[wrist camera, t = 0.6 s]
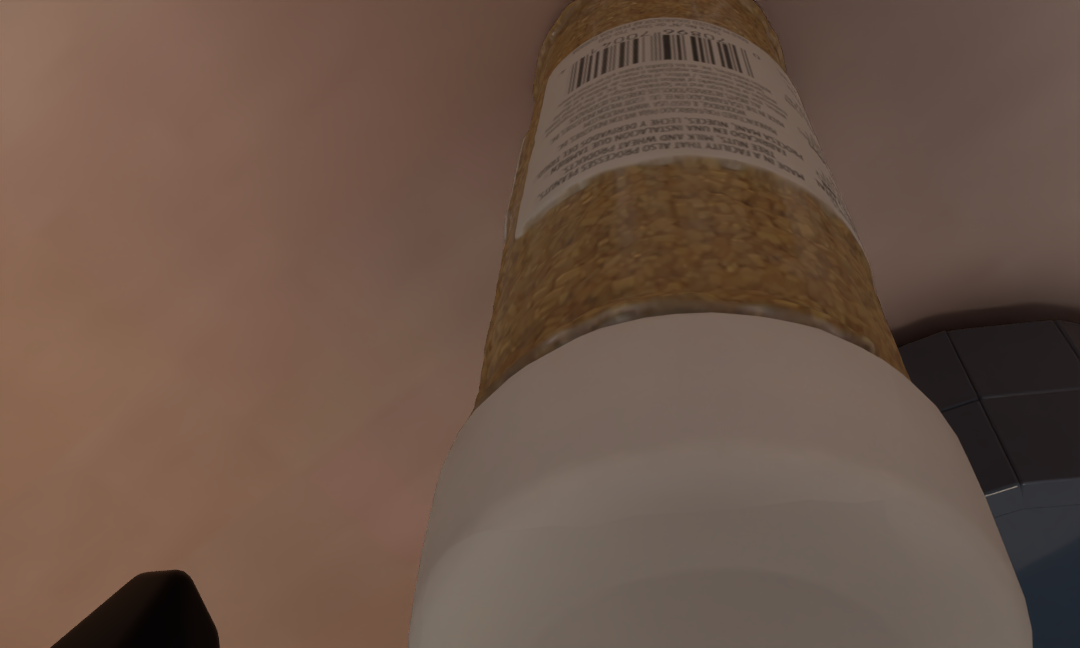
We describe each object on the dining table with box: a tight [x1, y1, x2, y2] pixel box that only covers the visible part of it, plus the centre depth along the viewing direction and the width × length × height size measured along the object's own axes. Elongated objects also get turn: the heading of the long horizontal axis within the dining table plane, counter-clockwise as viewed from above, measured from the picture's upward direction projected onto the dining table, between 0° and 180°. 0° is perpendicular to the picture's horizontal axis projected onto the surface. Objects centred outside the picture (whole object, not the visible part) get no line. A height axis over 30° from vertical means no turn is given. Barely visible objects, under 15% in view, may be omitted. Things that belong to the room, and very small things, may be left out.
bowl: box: [897, 320, 1080, 648], centre depth 22 cm, size 13×13×5 cm
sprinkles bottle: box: [408, 0, 1033, 648], centre depth 13 cm, size 5×4×14 cm
